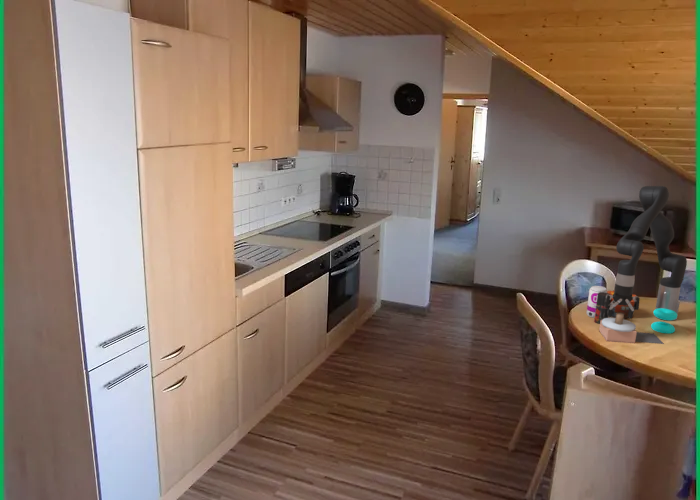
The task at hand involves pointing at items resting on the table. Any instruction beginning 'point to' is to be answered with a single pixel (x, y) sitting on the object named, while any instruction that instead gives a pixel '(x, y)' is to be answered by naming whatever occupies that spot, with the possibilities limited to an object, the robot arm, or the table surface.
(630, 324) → the lid
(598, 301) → the deodorant
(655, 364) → the table surface
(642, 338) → the mat
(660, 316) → the donuts
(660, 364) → the table surface
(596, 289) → the supplement can
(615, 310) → the food container
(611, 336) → the dish
